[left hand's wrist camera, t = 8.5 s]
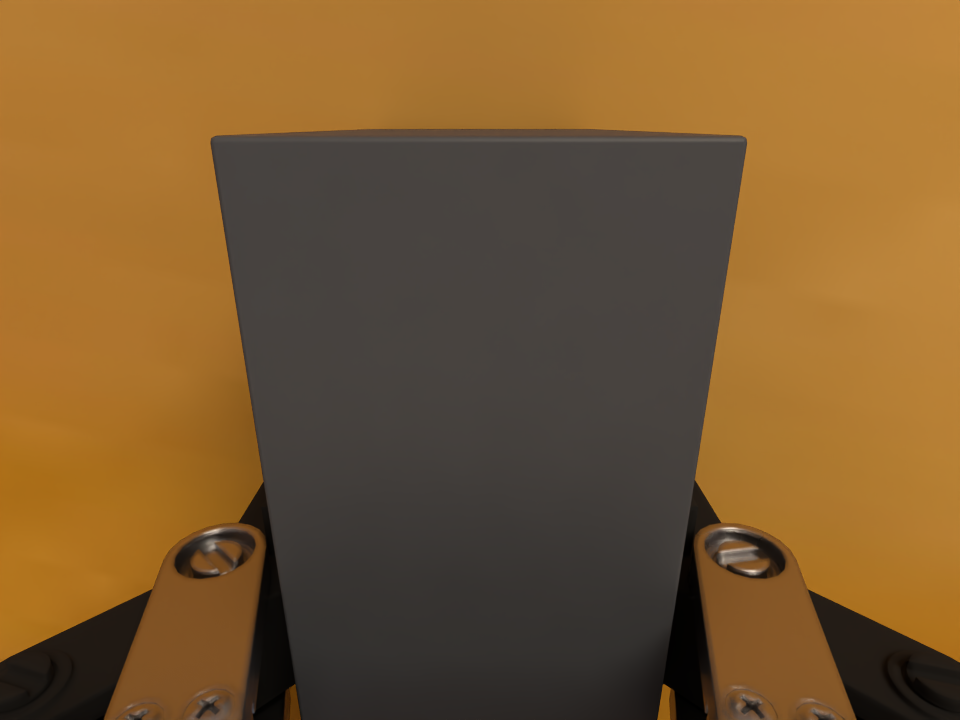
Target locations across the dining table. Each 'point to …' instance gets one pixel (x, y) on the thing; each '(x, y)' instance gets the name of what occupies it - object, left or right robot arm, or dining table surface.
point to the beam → (478, 405)
